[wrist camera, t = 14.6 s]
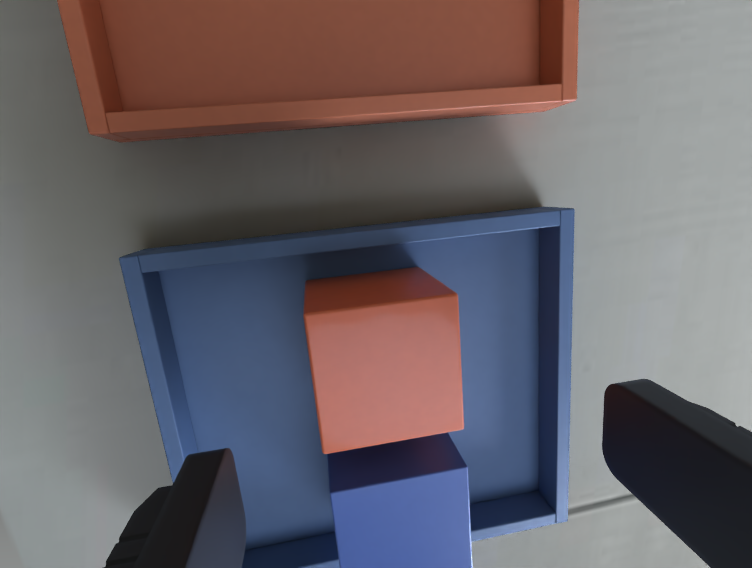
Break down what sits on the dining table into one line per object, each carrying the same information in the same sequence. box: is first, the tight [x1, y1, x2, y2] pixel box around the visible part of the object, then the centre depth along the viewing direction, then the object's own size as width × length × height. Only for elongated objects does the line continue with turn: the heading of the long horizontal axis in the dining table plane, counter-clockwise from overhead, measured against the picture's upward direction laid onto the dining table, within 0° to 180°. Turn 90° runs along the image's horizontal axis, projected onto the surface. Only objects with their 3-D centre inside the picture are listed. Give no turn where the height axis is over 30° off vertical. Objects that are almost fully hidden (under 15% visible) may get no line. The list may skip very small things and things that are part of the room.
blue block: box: [327, 432, 472, 568], centre depth 16 cm, size 5×5×5 cm
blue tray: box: [119, 207, 574, 568], centre depth 17 cm, size 16×14×2 cm
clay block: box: [303, 267, 464, 454], centre depth 15 cm, size 5×5×5 cm
